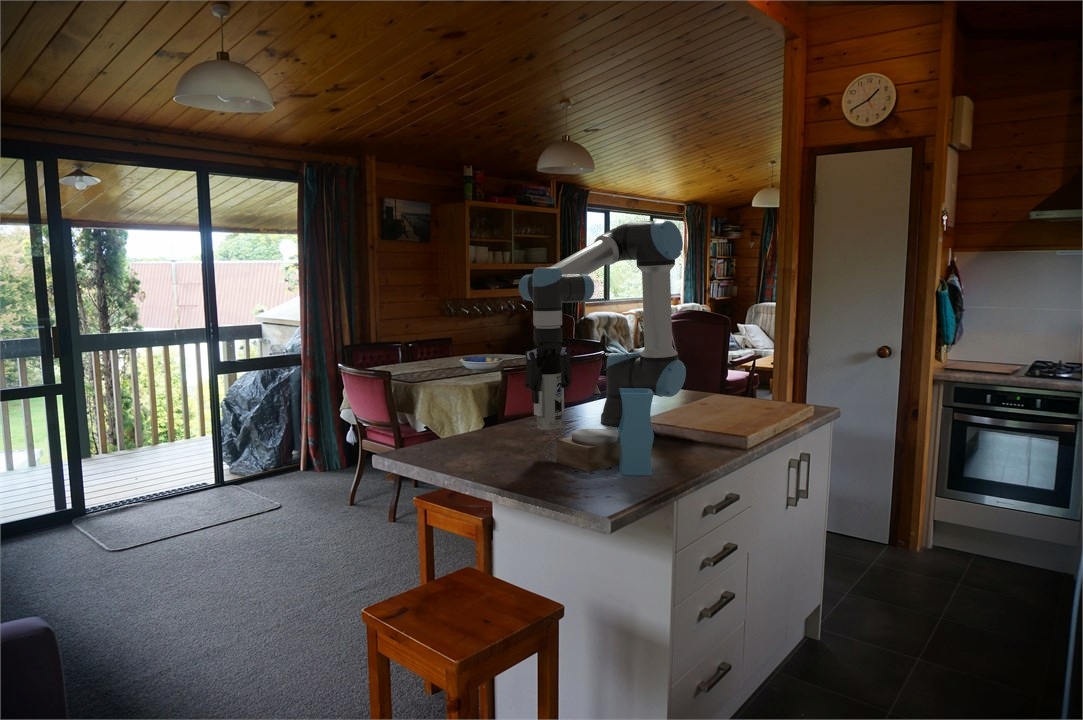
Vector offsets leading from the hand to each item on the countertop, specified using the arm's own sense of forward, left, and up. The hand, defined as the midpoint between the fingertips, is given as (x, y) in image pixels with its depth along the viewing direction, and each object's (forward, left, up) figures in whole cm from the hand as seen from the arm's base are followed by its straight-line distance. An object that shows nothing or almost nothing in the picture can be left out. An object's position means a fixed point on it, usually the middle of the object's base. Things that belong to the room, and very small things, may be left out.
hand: (549, 413), depth 187 cm
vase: (-7, +24, -12) cm, 28 cm away
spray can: (0, 0, -4) cm, 4 cm away
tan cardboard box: (-5, +12, -12) cm, 18 cm away
